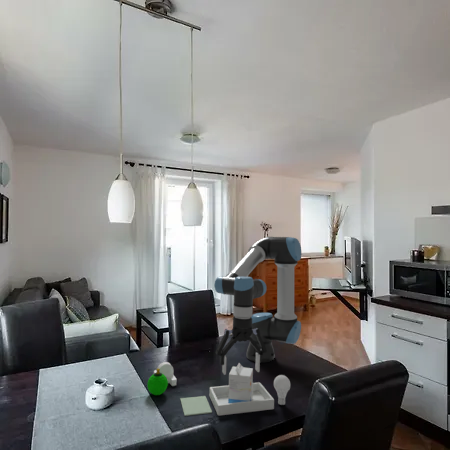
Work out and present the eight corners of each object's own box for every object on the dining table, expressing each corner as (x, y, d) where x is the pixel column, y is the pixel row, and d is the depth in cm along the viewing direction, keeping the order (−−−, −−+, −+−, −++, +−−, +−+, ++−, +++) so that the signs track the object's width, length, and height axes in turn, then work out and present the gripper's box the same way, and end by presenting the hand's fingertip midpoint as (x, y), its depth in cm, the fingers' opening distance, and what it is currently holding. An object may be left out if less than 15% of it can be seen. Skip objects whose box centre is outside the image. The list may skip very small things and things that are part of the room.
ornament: (148, 389, 135) (149, 365, 135) (168, 389, 135) (169, 365, 136) (145, 399, 127) (146, 373, 127) (166, 399, 127) (167, 373, 128)
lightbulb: (271, 400, 128) (272, 372, 129) (287, 400, 129) (287, 372, 129) (275, 409, 122) (276, 379, 123) (292, 408, 123) (292, 379, 123)
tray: (259, 390, 136) (259, 382, 137) (273, 408, 122) (274, 399, 122) (209, 396, 131) (209, 387, 131) (218, 415, 117) (218, 405, 117)
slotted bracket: (153, 376, 148) (153, 358, 148) (168, 373, 151) (168, 356, 151) (161, 388, 136) (161, 369, 137) (176, 385, 140) (177, 367, 140)
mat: (205, 396, 130) (205, 395, 130) (212, 412, 118) (212, 411, 119) (180, 399, 127) (180, 398, 127) (184, 415, 116) (184, 414, 116)
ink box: (249, 408, 122) (250, 372, 122) (227, 405, 123) (228, 369, 124) (252, 397, 130) (253, 363, 130) (231, 394, 132) (232, 361, 132)
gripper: (268, 313, 135) (267, 366, 134) (209, 315, 128) (207, 370, 127) (276, 318, 127) (274, 373, 126) (213, 319, 121) (211, 378, 120)
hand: (240, 371), depth 127 cm, fingers open, 13 cm apart
